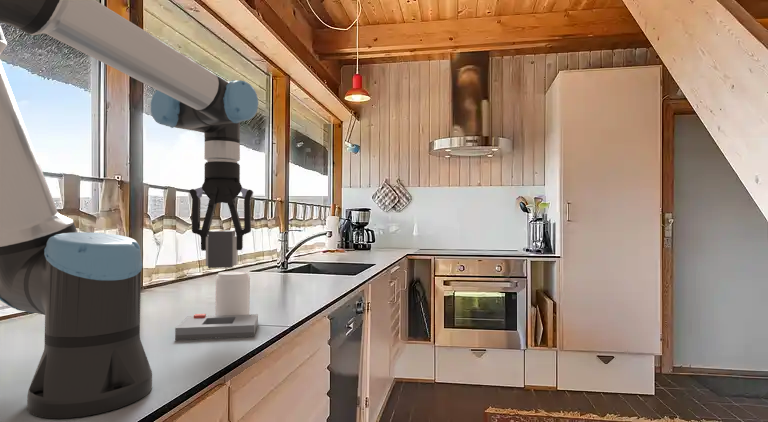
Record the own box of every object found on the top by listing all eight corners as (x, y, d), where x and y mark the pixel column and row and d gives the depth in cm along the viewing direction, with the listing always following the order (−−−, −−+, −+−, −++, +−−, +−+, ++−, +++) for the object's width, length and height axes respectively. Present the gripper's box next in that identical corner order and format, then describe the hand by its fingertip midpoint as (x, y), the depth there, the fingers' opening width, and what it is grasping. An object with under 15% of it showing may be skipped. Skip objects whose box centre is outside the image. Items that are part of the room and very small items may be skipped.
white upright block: (256, 319, 114) (256, 272, 114) (229, 326, 107) (230, 275, 108) (234, 315, 119) (235, 270, 119) (208, 321, 112) (208, 273, 112)
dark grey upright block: (231, 267, 100) (231, 230, 100) (208, 267, 99) (208, 230, 99) (235, 264, 105) (235, 229, 105) (212, 265, 104) (212, 229, 104)
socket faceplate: (253, 336, 98) (254, 322, 98) (175, 339, 95) (175, 325, 95) (257, 324, 109) (258, 311, 109) (187, 327, 106) (187, 313, 106)
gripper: (264, 164, 107) (264, 262, 107) (184, 162, 104) (183, 263, 104) (262, 161, 100) (261, 266, 100) (175, 159, 97) (174, 267, 97)
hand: (222, 264), depth 102 cm, fingers closed on dark grey upright block, 5 cm apart
